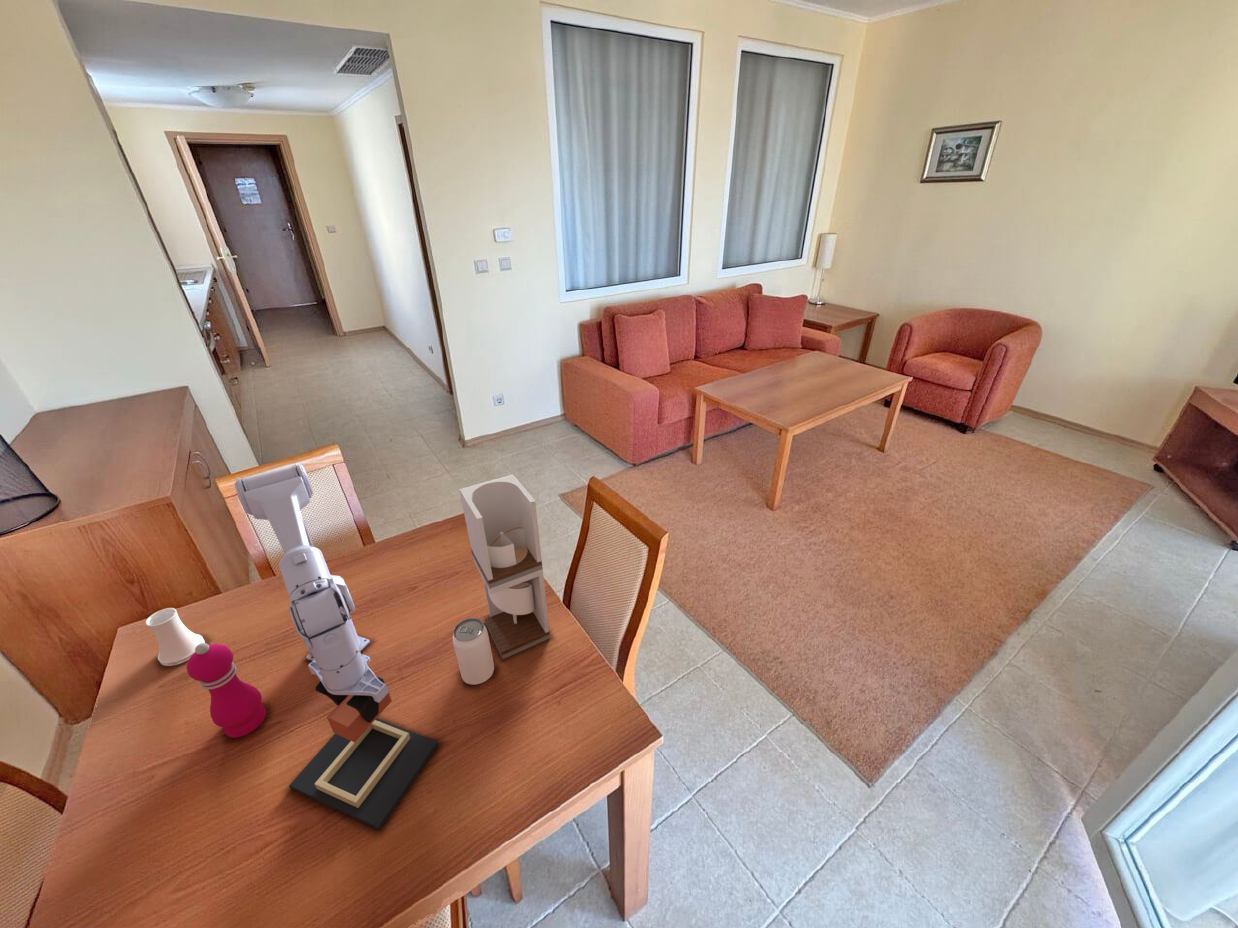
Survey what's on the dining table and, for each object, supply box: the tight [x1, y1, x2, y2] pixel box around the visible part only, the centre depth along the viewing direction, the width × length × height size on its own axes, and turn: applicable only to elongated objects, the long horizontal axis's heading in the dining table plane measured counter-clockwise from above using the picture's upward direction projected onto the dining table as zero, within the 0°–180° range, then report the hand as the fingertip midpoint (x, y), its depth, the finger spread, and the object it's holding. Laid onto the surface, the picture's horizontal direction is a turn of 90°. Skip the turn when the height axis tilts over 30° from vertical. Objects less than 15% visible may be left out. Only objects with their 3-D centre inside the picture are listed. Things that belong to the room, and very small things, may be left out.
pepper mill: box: [186, 642, 267, 739], centre depth 85 cm, size 7×7×20 cm
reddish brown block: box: [326, 691, 393, 743], centre depth 82 cm, size 5×8×4 cm, turn 158°
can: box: [452, 617, 495, 686], centre depth 96 cm, size 6×6×12 cm
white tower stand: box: [458, 474, 551, 660], centre depth 100 cm, size 11×11×35 cm
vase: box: [145, 607, 206, 667], centre depth 102 cm, size 8×8×10 cm
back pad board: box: [288, 717, 439, 831], centre depth 82 cm, size 18×14×2 cm
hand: (361, 711), depth 82 cm, fingers closed on reddish brown block, 4 cm apart
